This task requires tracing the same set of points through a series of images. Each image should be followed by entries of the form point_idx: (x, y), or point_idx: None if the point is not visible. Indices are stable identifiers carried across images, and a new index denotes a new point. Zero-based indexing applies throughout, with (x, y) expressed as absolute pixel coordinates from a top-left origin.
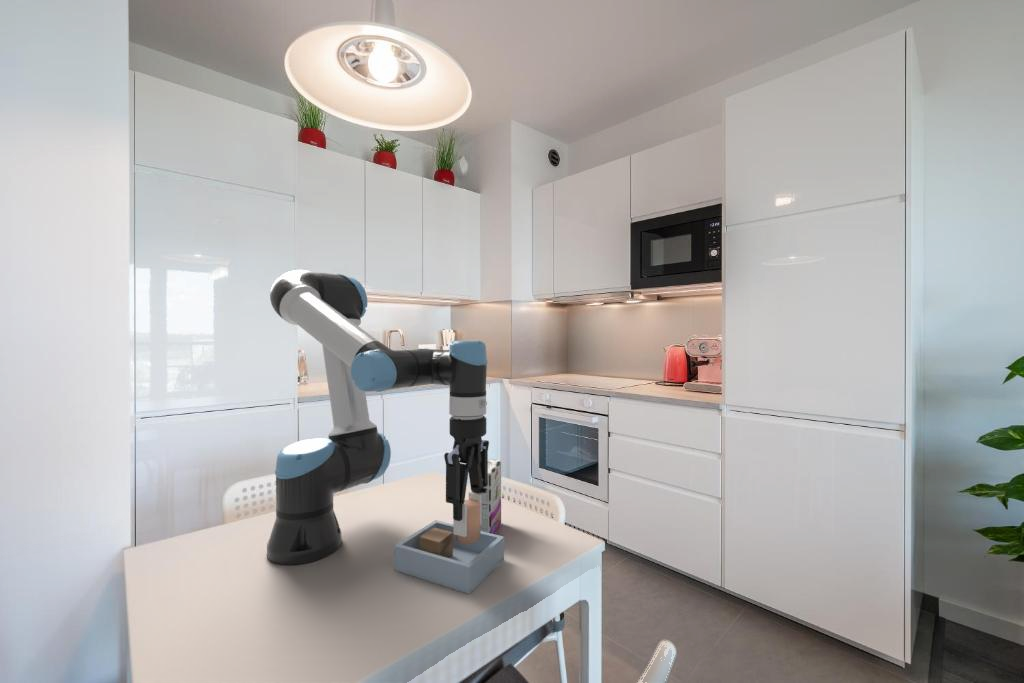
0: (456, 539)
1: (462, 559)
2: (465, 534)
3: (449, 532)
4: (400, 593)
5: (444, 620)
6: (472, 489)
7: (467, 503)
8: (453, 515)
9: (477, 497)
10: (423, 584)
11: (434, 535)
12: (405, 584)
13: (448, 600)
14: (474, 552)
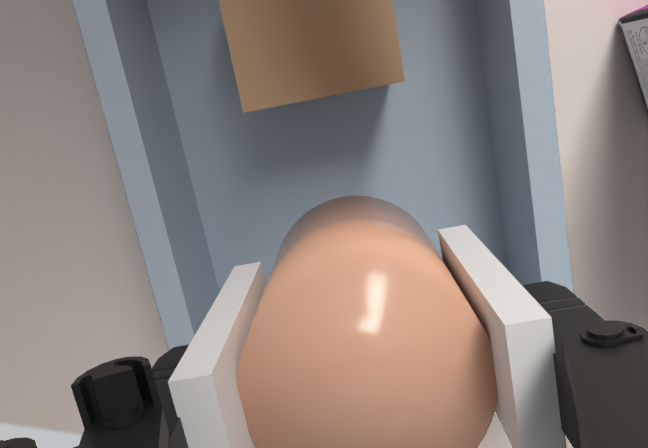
0: (285, 237)
1: (390, 154)
2: None
3: (389, 61)
4: (14, 120)
5: (40, 388)
6: (566, 362)
7: (378, 368)
8: (153, 372)
9: (508, 424)
10: None
11: (288, 11)
12: (70, 79)
13: (129, 317)
14: (486, 154)
